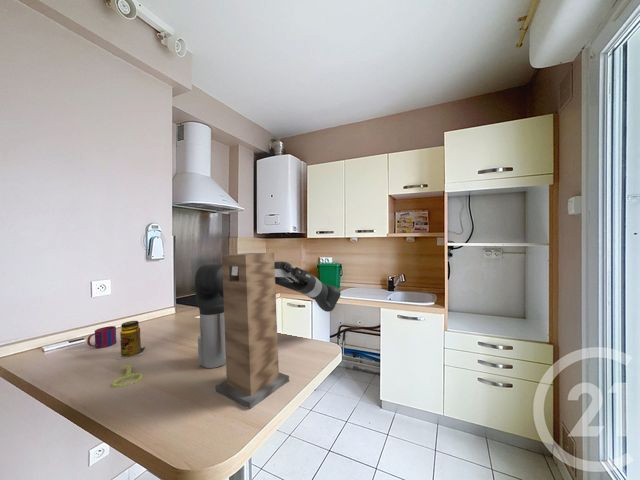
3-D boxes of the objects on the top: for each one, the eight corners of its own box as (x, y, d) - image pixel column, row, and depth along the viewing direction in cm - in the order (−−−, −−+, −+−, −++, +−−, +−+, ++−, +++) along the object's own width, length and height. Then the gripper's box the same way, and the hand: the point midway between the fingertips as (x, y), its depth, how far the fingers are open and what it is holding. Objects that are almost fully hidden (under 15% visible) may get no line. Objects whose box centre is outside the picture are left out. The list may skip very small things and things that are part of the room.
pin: (290, 277, 86) (291, 270, 86) (296, 277, 85) (296, 270, 85) (231, 275, 66) (232, 266, 67) (237, 275, 65) (238, 266, 65)
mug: (120, 342, 106) (119, 326, 106) (92, 352, 97) (92, 335, 97) (109, 341, 109) (108, 325, 109) (81, 351, 99) (80, 333, 99)
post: (256, 368, 80) (251, 252, 80) (289, 381, 72) (284, 252, 72) (216, 391, 68) (211, 255, 68) (250, 409, 60) (244, 255, 60)
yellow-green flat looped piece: (131, 368, 84) (131, 362, 84) (145, 380, 76) (144, 373, 76) (103, 379, 78) (103, 372, 78) (115, 392, 70) (115, 384, 70)
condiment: (116, 360, 90) (115, 326, 90) (124, 350, 98) (123, 320, 98) (140, 355, 93) (139, 323, 93) (146, 347, 101) (145, 317, 101)
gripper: (296, 273, 97) (266, 254, 85) (326, 275, 89) (298, 253, 77) (290, 292, 94) (258, 274, 82) (320, 295, 86) (291, 276, 74)
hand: (278, 264), depth 79 cm, fingers closed on pin, 2 cm apart
